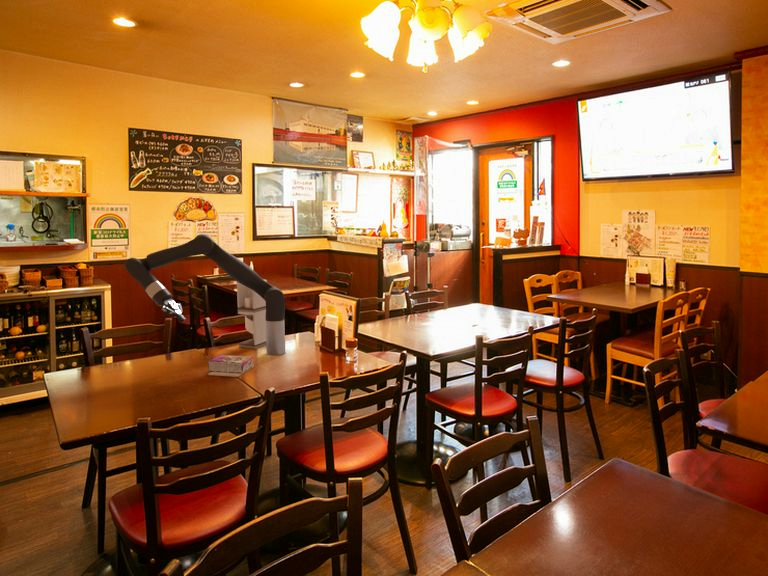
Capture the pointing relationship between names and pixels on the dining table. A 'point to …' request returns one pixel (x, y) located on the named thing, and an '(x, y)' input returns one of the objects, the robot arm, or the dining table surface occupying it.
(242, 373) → the mat
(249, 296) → the display case
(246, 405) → the dining table surface
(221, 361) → the candy bar box
